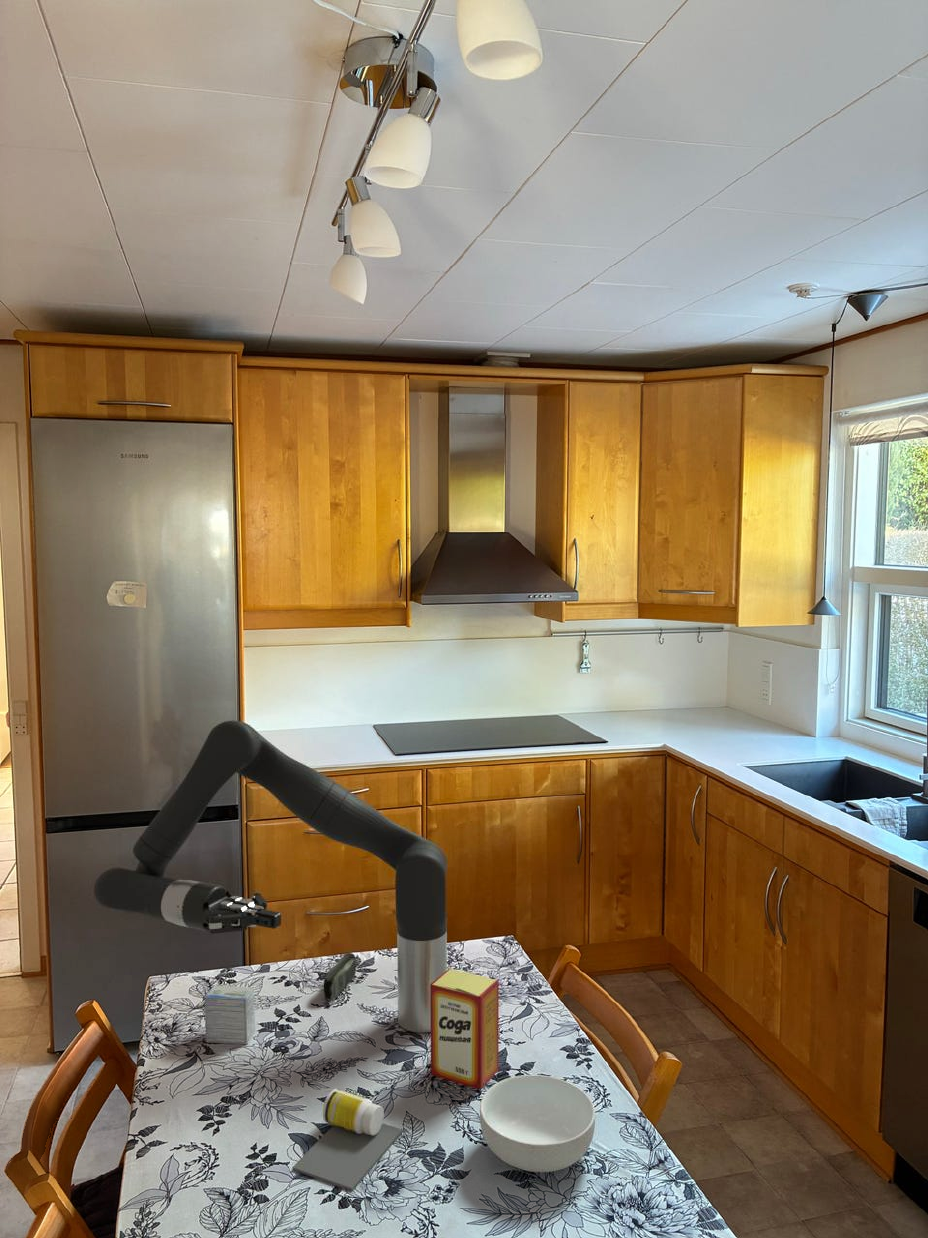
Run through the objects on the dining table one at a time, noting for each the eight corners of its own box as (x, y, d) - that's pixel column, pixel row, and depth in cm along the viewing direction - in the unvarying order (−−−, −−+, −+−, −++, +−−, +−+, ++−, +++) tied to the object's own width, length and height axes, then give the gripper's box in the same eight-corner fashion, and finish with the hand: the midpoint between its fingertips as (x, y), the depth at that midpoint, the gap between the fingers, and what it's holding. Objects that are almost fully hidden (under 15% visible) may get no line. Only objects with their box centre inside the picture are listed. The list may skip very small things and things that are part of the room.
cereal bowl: (563, 1211, 118) (564, 1160, 117) (457, 1166, 127) (457, 1118, 126) (613, 1140, 132) (613, 1094, 132) (515, 1104, 141) (515, 1061, 141)
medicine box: (255, 1032, 163) (255, 986, 162) (247, 1045, 158) (246, 998, 158) (214, 1030, 164) (213, 984, 163) (204, 1043, 159) (203, 996, 159)
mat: (292, 1170, 126) (292, 1167, 126) (346, 1114, 138) (346, 1112, 138) (352, 1191, 121) (352, 1188, 121) (402, 1132, 134) (402, 1129, 134)
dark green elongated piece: (343, 950, 187) (318, 981, 172) (357, 951, 186) (333, 982, 171) (344, 973, 187) (318, 1006, 172) (357, 974, 186) (333, 1008, 171)
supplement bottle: (319, 1127, 134) (366, 1143, 130) (323, 1094, 134) (369, 1109, 131) (338, 1116, 138) (383, 1132, 134) (341, 1084, 139) (387, 1099, 135)
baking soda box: (430, 1074, 149) (430, 982, 148) (449, 1055, 155) (449, 966, 154) (480, 1090, 145) (480, 995, 144) (498, 1070, 150) (498, 978, 149)
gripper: (167, 896, 146) (252, 913, 138) (220, 871, 158) (301, 885, 150) (168, 941, 146) (253, 960, 139) (222, 912, 158) (302, 928, 151)
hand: (278, 921), depth 145 cm, fingers closed
